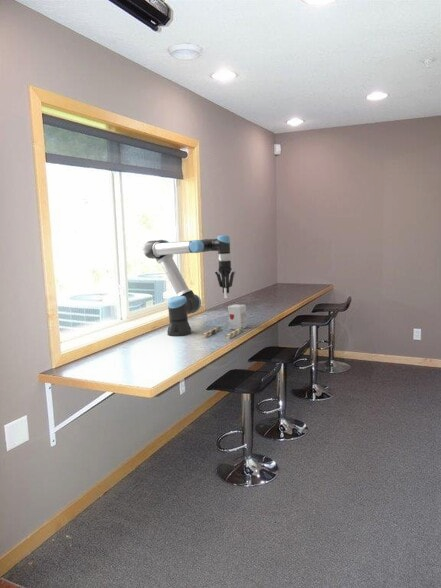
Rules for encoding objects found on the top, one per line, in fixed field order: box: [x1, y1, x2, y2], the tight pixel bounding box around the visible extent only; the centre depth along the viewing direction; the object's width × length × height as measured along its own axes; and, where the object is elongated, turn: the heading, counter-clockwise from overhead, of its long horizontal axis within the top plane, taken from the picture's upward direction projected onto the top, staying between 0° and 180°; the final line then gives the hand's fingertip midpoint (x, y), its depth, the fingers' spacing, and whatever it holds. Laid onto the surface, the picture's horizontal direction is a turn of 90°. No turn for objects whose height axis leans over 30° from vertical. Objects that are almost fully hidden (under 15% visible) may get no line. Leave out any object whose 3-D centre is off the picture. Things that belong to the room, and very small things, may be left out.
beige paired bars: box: [202, 325, 244, 340], centre depth 286 cm, size 22×17×3 cm
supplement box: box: [227, 303, 248, 330], centre depth 301 cm, size 9×9×15 cm
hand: (226, 298), depth 290 cm, fingers closed
